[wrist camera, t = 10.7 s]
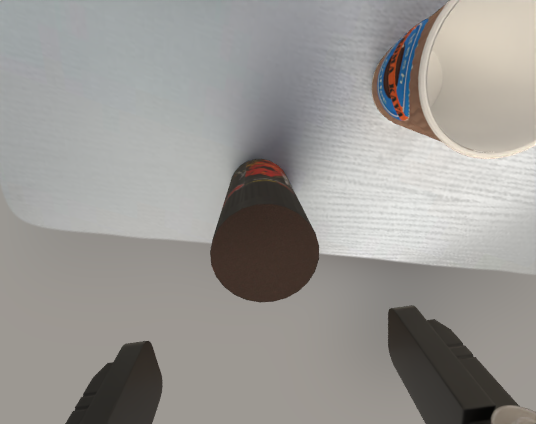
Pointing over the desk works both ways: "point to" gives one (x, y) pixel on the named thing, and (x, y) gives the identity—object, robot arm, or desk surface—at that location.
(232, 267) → the deodorant
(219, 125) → the desk surface
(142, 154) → the desk surface
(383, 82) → the coffee cup
